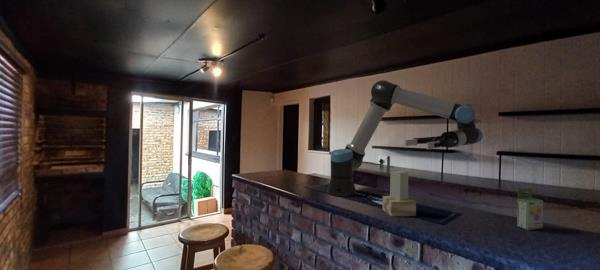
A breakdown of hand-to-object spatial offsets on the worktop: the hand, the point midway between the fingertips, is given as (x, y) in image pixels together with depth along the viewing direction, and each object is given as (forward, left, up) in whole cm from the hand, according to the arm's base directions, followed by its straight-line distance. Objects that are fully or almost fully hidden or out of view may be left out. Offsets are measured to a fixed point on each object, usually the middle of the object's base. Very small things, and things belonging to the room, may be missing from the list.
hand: (415, 144), depth 128 cm
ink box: (+38, +13, -28) cm, 49 cm away
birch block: (+3, -14, -28) cm, 31 cm away
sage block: (+3, -13, -22) cm, 26 cm away
